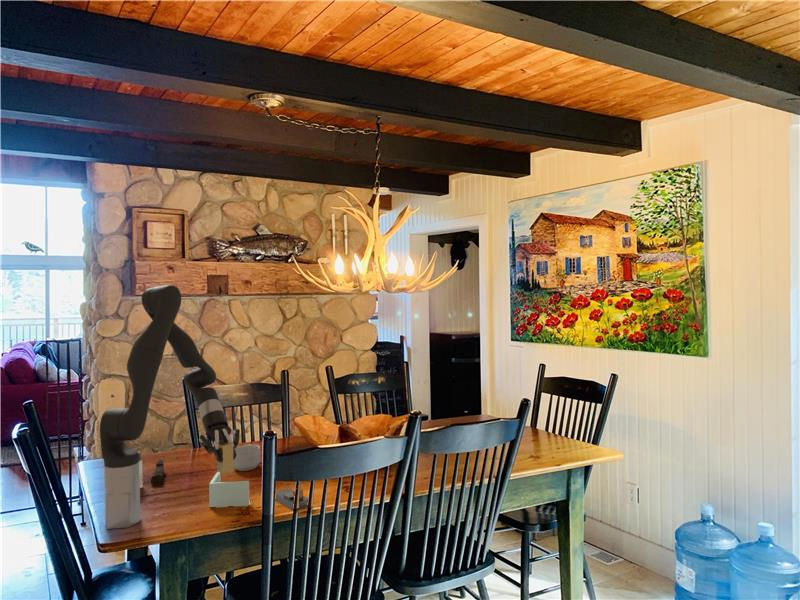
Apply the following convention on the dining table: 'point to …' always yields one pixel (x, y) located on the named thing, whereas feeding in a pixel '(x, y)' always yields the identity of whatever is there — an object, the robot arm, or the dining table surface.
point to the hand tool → (158, 474)
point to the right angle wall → (228, 492)
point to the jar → (140, 470)
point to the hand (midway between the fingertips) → (227, 459)
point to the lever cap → (226, 457)
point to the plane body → (290, 498)
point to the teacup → (247, 457)
